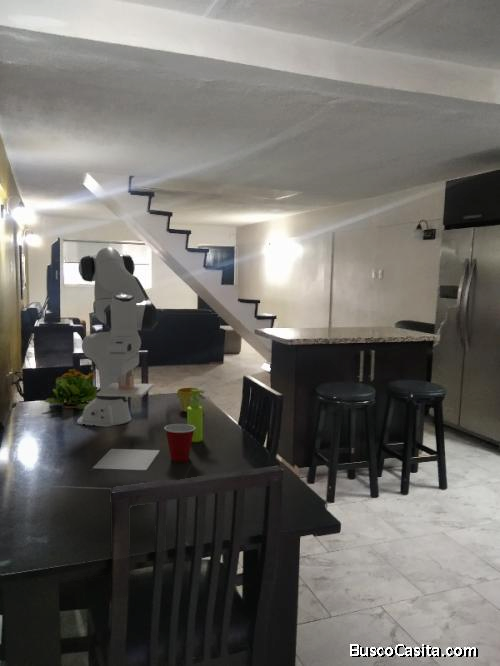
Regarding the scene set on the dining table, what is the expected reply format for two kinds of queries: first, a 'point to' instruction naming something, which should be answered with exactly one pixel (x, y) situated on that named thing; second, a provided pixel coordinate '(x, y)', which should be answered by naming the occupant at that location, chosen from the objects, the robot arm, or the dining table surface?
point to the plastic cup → (179, 440)
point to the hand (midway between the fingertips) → (126, 383)
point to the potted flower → (74, 390)
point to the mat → (127, 459)
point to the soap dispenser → (195, 416)
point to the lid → (126, 388)
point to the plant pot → (185, 397)
